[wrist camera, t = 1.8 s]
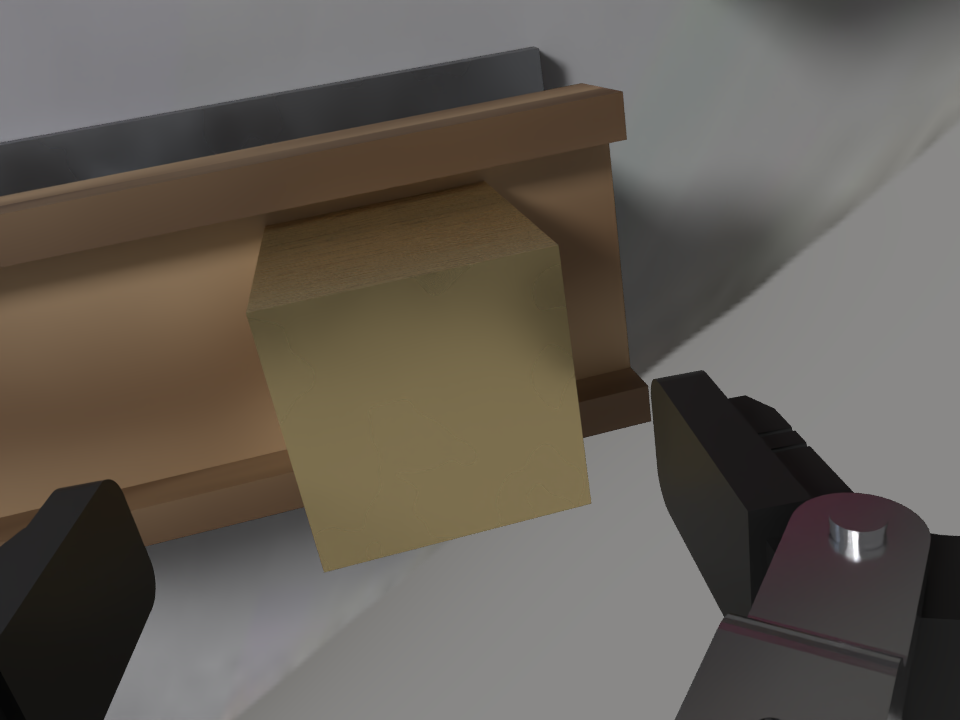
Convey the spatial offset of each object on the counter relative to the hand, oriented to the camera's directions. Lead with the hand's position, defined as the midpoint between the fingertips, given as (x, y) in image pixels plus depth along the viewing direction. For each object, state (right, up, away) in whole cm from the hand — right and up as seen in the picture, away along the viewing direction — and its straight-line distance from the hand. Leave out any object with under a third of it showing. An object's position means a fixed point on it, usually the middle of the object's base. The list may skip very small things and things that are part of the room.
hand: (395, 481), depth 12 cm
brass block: (-1, +3, +7) cm, 8 cm away
